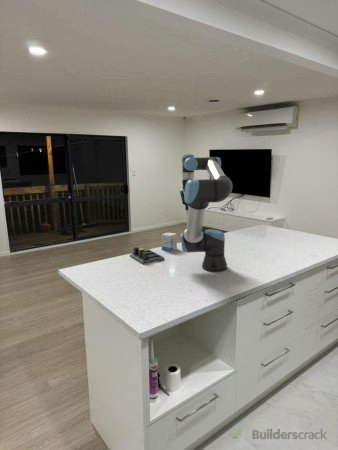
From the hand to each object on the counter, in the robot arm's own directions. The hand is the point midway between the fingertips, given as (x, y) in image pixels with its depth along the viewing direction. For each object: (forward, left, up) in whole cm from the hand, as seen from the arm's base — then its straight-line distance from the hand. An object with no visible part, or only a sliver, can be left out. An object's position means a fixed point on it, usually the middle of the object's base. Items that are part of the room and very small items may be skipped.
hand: (188, 215), depth 208 cm
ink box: (+25, 0, -30) cm, 39 cm away
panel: (+15, +24, -29) cm, 41 cm away
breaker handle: (+15, +28, -28) cm, 42 cm away
